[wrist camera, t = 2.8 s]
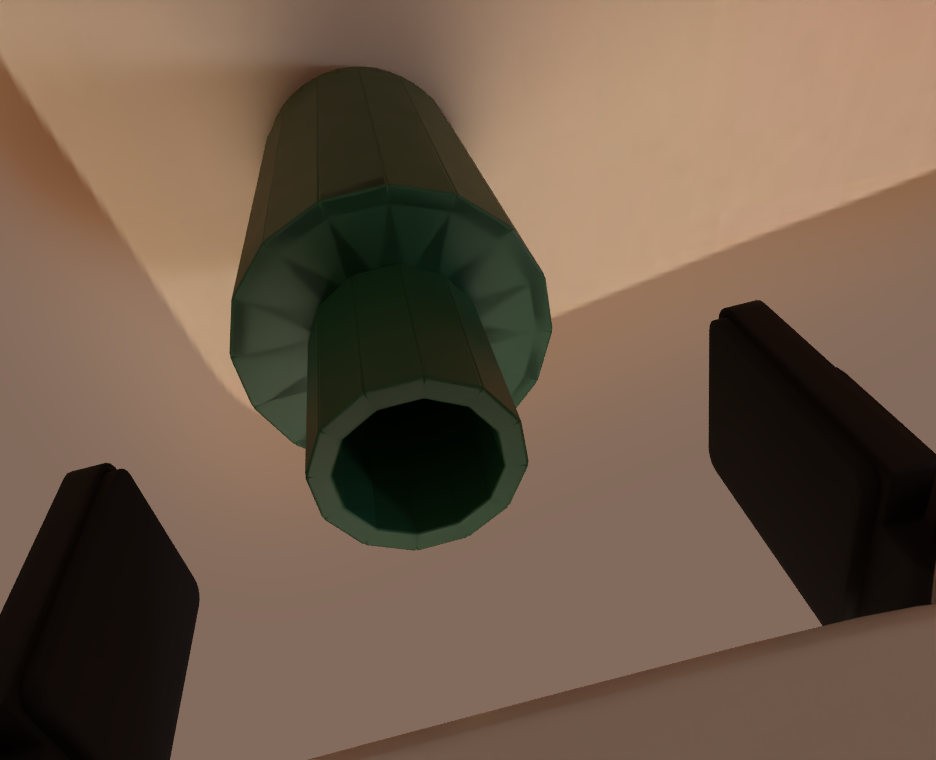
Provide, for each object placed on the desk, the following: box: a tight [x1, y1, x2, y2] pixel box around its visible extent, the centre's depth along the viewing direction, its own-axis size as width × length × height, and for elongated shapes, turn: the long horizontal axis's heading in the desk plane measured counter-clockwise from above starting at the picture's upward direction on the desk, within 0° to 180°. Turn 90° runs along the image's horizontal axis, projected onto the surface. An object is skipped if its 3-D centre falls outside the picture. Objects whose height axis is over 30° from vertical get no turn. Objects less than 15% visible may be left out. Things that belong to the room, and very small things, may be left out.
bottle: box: [230, 67, 552, 550], centre depth 18 cm, size 6×6×16 cm
